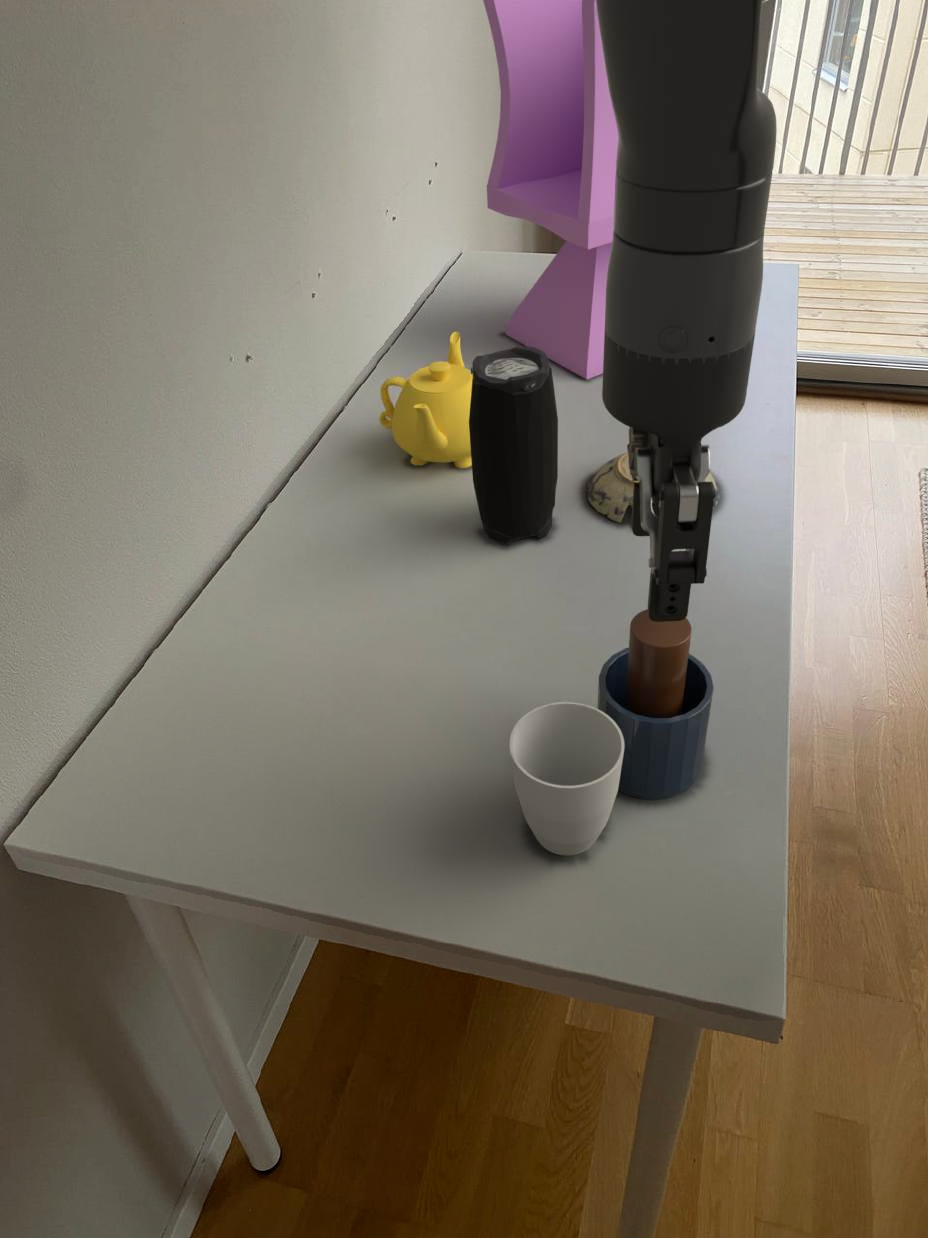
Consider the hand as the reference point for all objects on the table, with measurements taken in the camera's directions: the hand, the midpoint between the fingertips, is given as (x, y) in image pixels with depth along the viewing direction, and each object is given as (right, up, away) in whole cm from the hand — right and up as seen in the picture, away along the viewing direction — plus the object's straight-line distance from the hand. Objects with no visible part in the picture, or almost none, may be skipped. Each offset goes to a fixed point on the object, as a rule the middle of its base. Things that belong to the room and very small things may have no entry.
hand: (656, 572), depth 58 cm
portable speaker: (-6, +7, +47) cm, 48 cm away
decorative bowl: (+10, +12, +50) cm, 52 cm away
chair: (+8, +39, +82) cm, 92 cm away
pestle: (+3, -14, +20) cm, 24 cm away
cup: (-4, -19, +15) cm, 25 cm away
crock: (+3, -14, +20) cm, 25 cm away
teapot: (-15, +18, +60) cm, 65 cm away
